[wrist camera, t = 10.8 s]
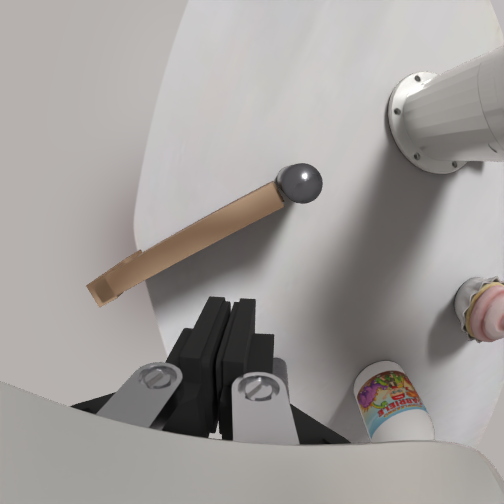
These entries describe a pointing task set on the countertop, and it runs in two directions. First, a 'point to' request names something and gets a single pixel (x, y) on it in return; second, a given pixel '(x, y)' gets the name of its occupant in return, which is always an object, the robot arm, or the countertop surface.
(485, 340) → the cupcake
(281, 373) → the post
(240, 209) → the walnut gate
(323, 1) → the countertop surface
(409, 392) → the milk bottle
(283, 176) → the hinge post
